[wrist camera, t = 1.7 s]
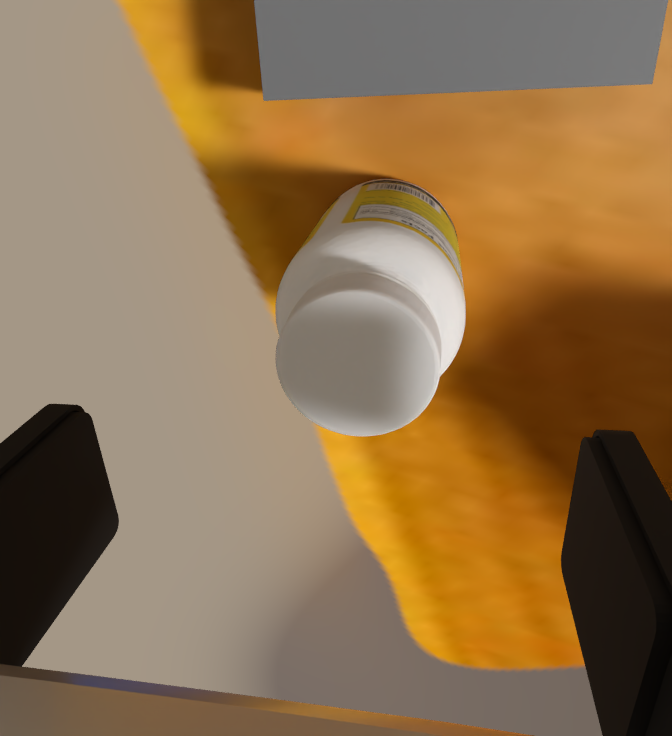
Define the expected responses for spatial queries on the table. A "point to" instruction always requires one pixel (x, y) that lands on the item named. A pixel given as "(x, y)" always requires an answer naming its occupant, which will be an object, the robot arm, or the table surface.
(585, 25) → the slate base block
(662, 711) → the robot arm
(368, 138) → the table surface
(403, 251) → the supplement bottle
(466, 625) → the table surface
